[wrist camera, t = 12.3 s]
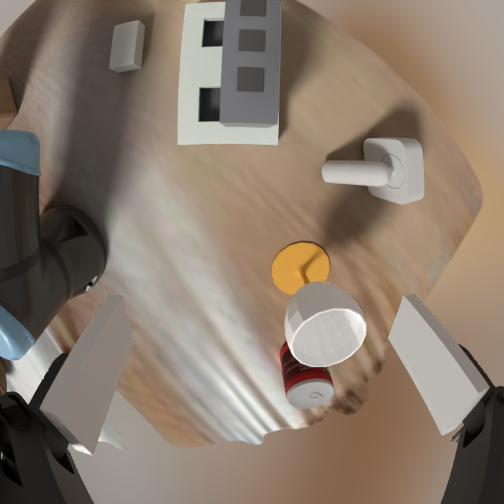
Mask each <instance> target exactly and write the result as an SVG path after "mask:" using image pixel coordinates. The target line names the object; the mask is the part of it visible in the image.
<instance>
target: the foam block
mask: <svg viewBox="0 0 504 504" xmlns="http://www.w3.org/2000/svg"><path fill="white" fill-rule="evenodd" d="M145 29H146V27H145V26H144V25H143V24H142V23H141V22H140V21H139V20H136V21H131V22H127V23H123V24H119V25H115V26H114V32H113V39H112V46H111V54H110V63H109V69H110V70H113V71H115V72H117V73H120V72H125V71H130V70H136V69H141V66H142V55H143V45H144V37H145Z"/></svg>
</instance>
